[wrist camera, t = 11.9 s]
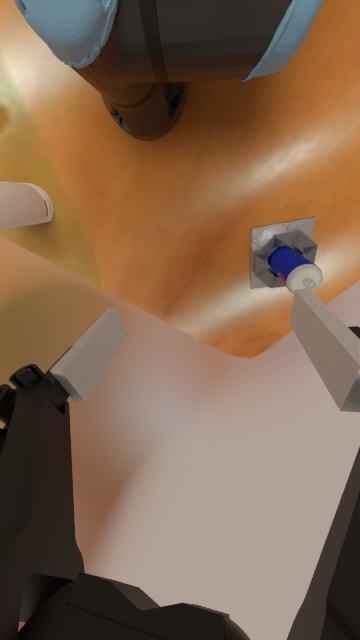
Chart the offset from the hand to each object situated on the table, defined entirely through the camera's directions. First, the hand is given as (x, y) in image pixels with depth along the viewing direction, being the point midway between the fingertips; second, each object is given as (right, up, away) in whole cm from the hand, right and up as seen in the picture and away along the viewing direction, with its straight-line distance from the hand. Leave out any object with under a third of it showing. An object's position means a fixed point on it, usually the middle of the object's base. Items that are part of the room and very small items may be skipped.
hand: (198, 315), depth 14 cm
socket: (+21, +14, +28) cm, 38 cm away
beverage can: (+21, +14, +28) cm, 38 cm away
